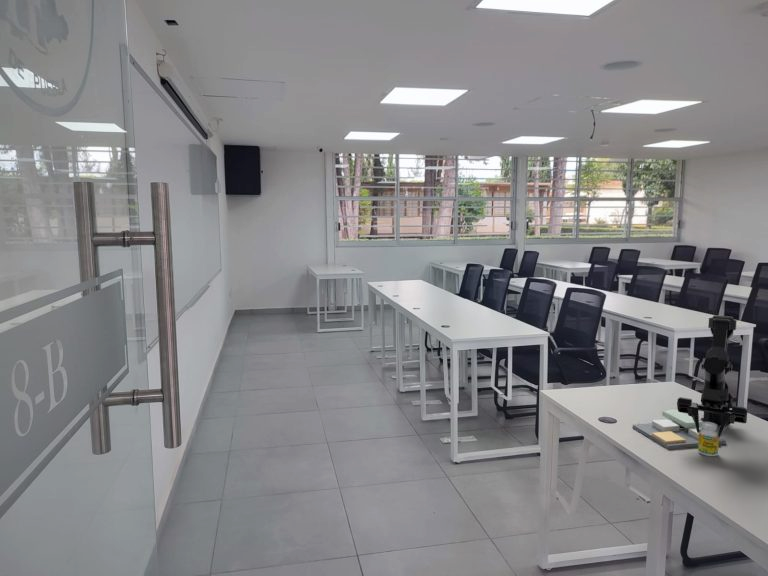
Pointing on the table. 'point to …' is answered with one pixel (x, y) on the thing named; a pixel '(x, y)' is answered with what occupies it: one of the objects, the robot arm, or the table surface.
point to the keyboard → (671, 434)
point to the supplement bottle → (708, 439)
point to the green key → (680, 418)
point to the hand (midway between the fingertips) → (708, 434)
